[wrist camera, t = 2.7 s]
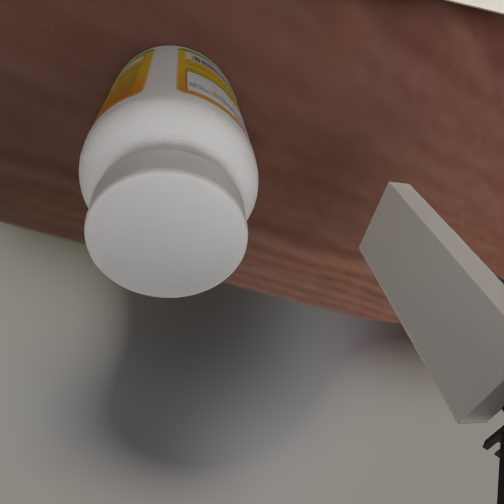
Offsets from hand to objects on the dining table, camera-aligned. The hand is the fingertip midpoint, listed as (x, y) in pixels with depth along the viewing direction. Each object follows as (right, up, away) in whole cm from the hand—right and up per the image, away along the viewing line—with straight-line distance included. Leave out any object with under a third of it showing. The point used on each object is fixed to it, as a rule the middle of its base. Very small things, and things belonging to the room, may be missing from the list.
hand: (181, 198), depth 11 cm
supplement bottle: (-1, +5, +5) cm, 7 cm away
